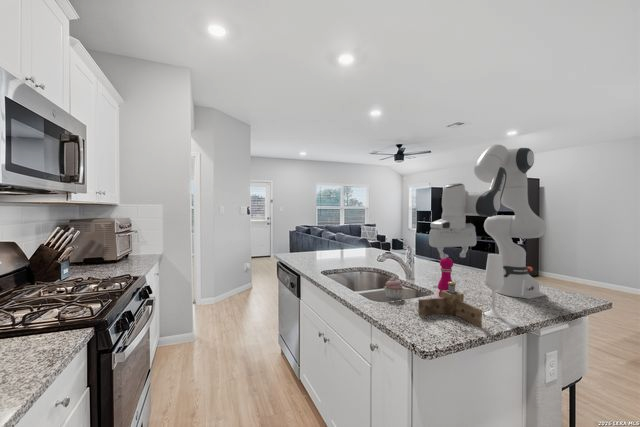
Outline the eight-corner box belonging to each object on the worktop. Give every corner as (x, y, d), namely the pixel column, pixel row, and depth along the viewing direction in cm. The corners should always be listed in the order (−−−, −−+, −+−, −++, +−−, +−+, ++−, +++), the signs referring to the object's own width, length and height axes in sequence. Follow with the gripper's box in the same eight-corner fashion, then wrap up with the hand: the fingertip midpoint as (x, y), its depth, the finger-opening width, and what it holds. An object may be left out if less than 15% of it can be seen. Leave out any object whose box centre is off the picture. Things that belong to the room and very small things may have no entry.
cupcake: (398, 302, 130) (398, 280, 130) (379, 298, 136) (380, 276, 136) (407, 297, 137) (407, 276, 137) (389, 293, 143) (389, 273, 143)
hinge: (444, 330, 100) (444, 307, 100) (414, 312, 118) (415, 292, 118) (487, 325, 105) (487, 303, 105) (452, 308, 122) (453, 289, 122)
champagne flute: (505, 318, 112) (507, 256, 111) (486, 316, 114) (487, 255, 113) (500, 312, 118) (501, 253, 118) (482, 310, 120) (483, 252, 120)
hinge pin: (452, 301, 120) (452, 281, 120) (457, 304, 117) (457, 283, 117) (446, 302, 120) (446, 281, 119) (451, 304, 117) (451, 283, 117)
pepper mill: (450, 294, 143) (451, 253, 143) (456, 298, 136) (457, 256, 136) (435, 293, 144) (436, 253, 144) (440, 298, 137) (441, 255, 136)
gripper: (469, 222, 124) (468, 255, 124) (426, 223, 118) (426, 257, 119) (480, 223, 117) (480, 258, 118) (436, 224, 112) (436, 260, 113)
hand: (452, 257), depth 118 cm, fingers open, 8 cm apart
